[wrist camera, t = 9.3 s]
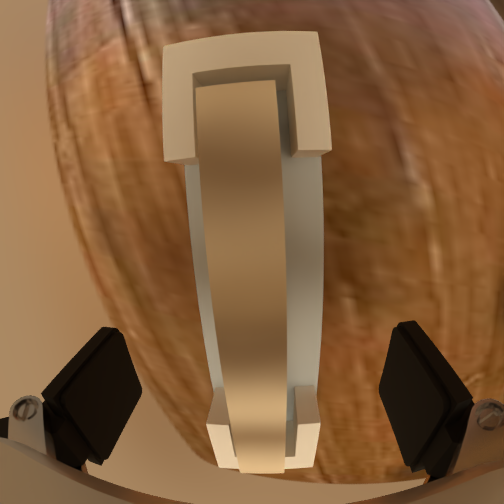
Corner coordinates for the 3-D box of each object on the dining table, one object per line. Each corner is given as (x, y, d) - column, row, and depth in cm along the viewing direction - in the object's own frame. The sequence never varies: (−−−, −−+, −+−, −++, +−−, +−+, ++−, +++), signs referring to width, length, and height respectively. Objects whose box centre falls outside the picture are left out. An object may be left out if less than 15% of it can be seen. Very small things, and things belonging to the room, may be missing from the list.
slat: (221, 119, 15) (195, 88, 9) (273, 115, 15) (275, 80, 9) (246, 416, 20) (240, 472, 14) (282, 415, 20) (284, 472, 14)
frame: (185, 67, 15) (159, 35, 10) (308, 58, 14) (320, 20, 9) (225, 431, 22) (217, 471, 17) (310, 429, 22) (314, 470, 17)
